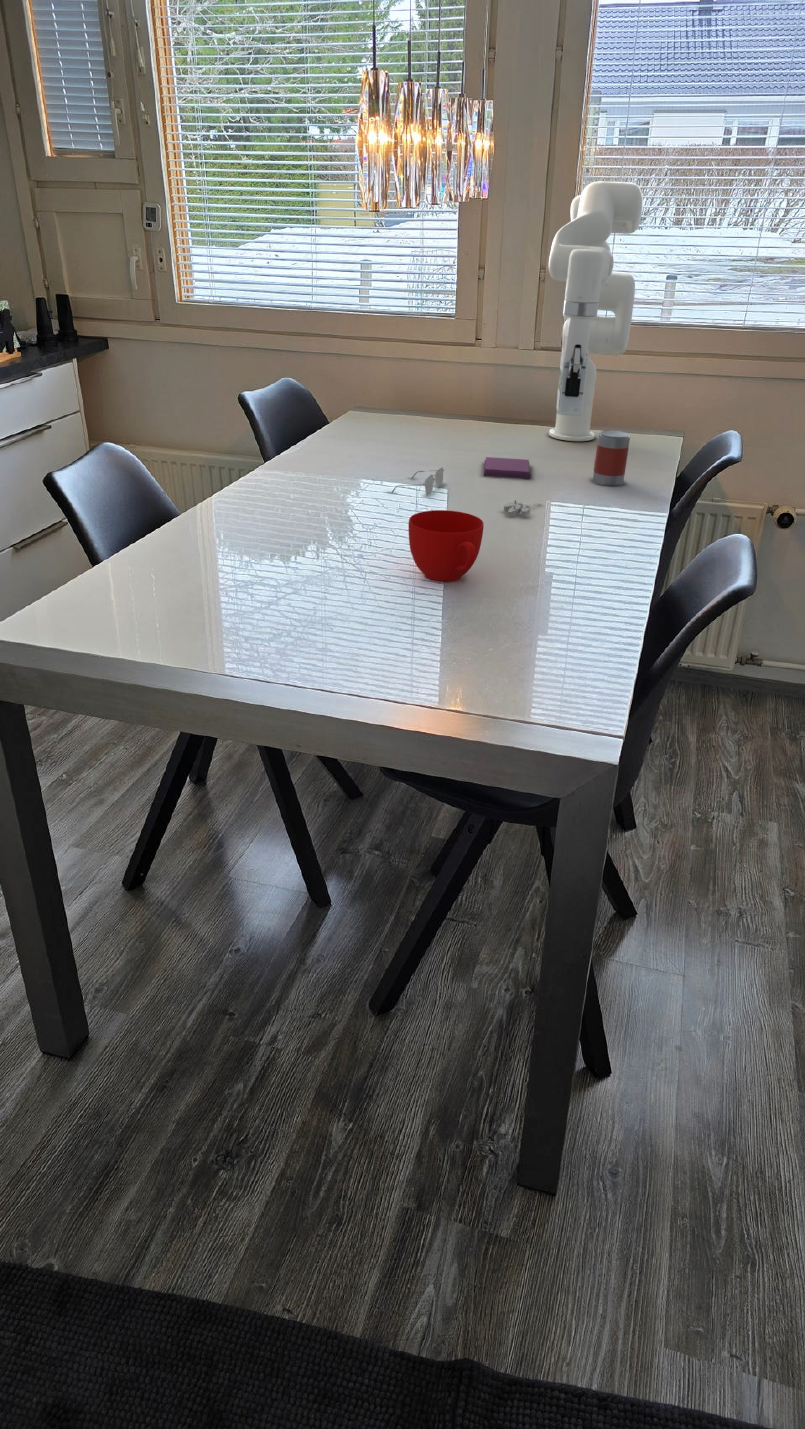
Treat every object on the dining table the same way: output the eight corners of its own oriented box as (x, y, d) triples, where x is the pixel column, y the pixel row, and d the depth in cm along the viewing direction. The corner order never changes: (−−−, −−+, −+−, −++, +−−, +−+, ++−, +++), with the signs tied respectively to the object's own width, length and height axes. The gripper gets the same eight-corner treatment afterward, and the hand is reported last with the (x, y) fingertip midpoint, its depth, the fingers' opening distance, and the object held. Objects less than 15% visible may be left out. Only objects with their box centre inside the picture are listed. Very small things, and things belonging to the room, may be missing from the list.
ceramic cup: (434, 601, 166) (438, 543, 161) (394, 567, 180) (396, 513, 175) (503, 592, 171) (508, 536, 166) (459, 560, 184) (463, 507, 180)
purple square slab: (484, 463, 248) (485, 456, 247) (528, 466, 248) (529, 459, 247) (483, 476, 238) (484, 469, 237) (529, 479, 237) (530, 472, 236)
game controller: (499, 515, 210) (500, 503, 209) (514, 502, 220) (515, 490, 218) (525, 519, 208) (526, 507, 207) (539, 506, 218) (541, 494, 217)
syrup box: (582, 416, 231) (591, 350, 224) (557, 415, 231) (564, 349, 224) (579, 411, 236) (587, 346, 229) (554, 410, 236) (561, 345, 229)
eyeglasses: (425, 498, 219) (424, 479, 218) (391, 496, 222) (390, 478, 220) (444, 482, 231) (444, 465, 229) (412, 481, 234) (411, 463, 232)
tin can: (591, 476, 241) (597, 429, 236) (621, 478, 241) (628, 431, 235) (593, 485, 235) (600, 436, 229) (625, 487, 234) (632, 438, 229)
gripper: (561, 305, 230) (552, 386, 239) (565, 313, 215) (556, 400, 224) (594, 306, 230) (584, 388, 238) (600, 315, 215) (589, 402, 223)
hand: (570, 393), depth 231 cm, fingers closed on syrup box, 6 cm apart
